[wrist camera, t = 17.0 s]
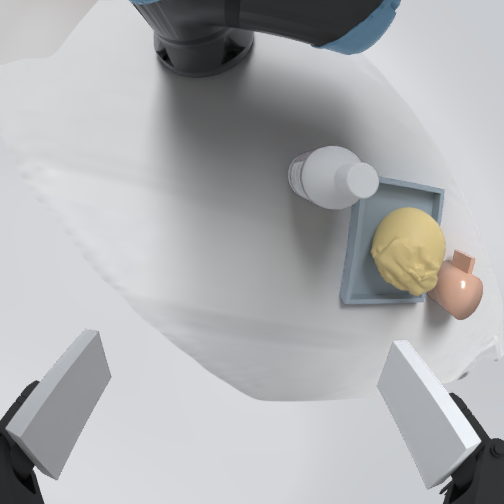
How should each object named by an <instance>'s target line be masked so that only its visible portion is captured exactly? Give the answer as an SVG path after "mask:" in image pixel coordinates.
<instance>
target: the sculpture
mask: <svg viewBox="0 0 504 504" xmlns="http://www.w3.org/2000/svg"><path fill="white" fill-rule="evenodd" d="M371 254H372V256H373V258H374V259H375V264H376V266H377V268H378V271H379V272H380V275H381V276H382V277H384V280H385V281H386V282H388V283H391V284H392V285H393V286H394V287H396V288H398V289H400V290H407V291H409V293H410V294H412V295H415V296H420V295H422V294H423V293H425V292H428V291H430V290H432V289H433V288H434V287H435V286H436V284H437V280H438V278H437V274H438V271H439V270H440V266H441V264H442V262H443V259H444V255H445V239H444V235H443V232H442V230H441V228H440V226H439V225H438V223H437V222H436V221H435V220H434V219H433V218H432V217H431V216H430V215H429V214H427V213H426V212H424V211H422V210H420V209H417V208H412V207H404V208H400V209H397V210H394V211H393V212H391V213H389V214H388V215H387V216H386V217H385V218H384V219H383V220H382V221H381V222H380V224H379V225H378V227H377V229H376V231H375V234H374V237H373V243H372V249H371Z"/></svg>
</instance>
